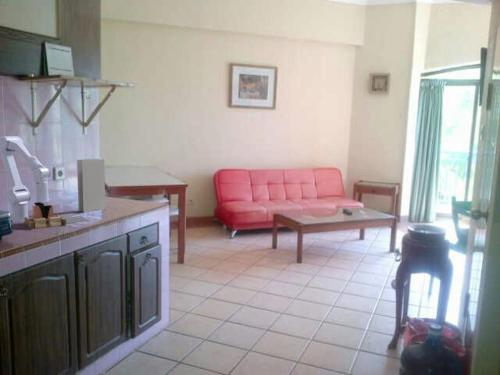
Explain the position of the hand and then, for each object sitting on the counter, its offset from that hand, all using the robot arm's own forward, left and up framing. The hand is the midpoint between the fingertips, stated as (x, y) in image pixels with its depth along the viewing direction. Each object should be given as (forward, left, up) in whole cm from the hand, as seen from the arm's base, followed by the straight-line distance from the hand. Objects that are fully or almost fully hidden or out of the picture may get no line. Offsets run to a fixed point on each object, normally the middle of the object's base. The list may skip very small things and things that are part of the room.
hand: (43, 217), depth 230 cm
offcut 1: (+8, -4, -3) cm, 9 cm away
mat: (0, +15, -3) cm, 15 cm away
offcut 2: (+8, +4, -3) cm, 9 cm away
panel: (0, 0, -3) cm, 3 cm away
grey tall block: (-22, +32, -4) cm, 39 cm away
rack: (+4, 0, -3) cm, 5 cm away
